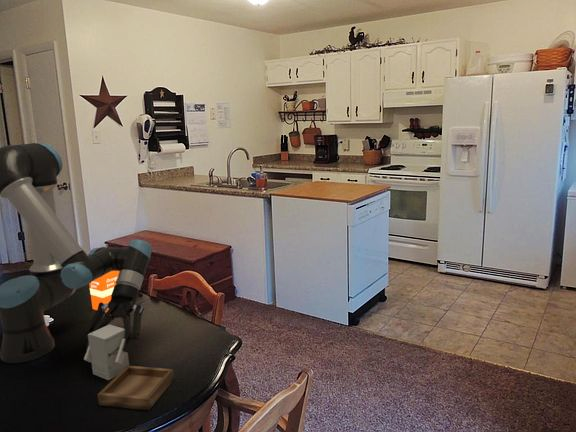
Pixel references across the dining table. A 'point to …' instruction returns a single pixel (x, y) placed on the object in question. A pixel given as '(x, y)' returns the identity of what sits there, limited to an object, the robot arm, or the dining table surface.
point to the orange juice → (103, 289)
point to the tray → (136, 387)
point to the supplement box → (106, 351)
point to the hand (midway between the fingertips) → (103, 362)
